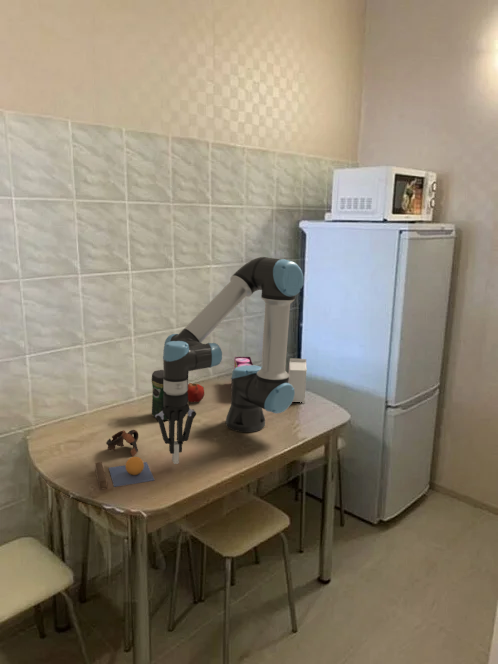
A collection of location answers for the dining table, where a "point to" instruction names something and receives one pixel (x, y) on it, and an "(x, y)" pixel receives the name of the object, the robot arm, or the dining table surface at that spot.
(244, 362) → the gum box
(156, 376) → the coffee jar
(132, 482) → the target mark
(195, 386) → the tomato
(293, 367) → the milk carton
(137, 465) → the ball
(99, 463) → the stopper strip
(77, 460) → the dining table surface
